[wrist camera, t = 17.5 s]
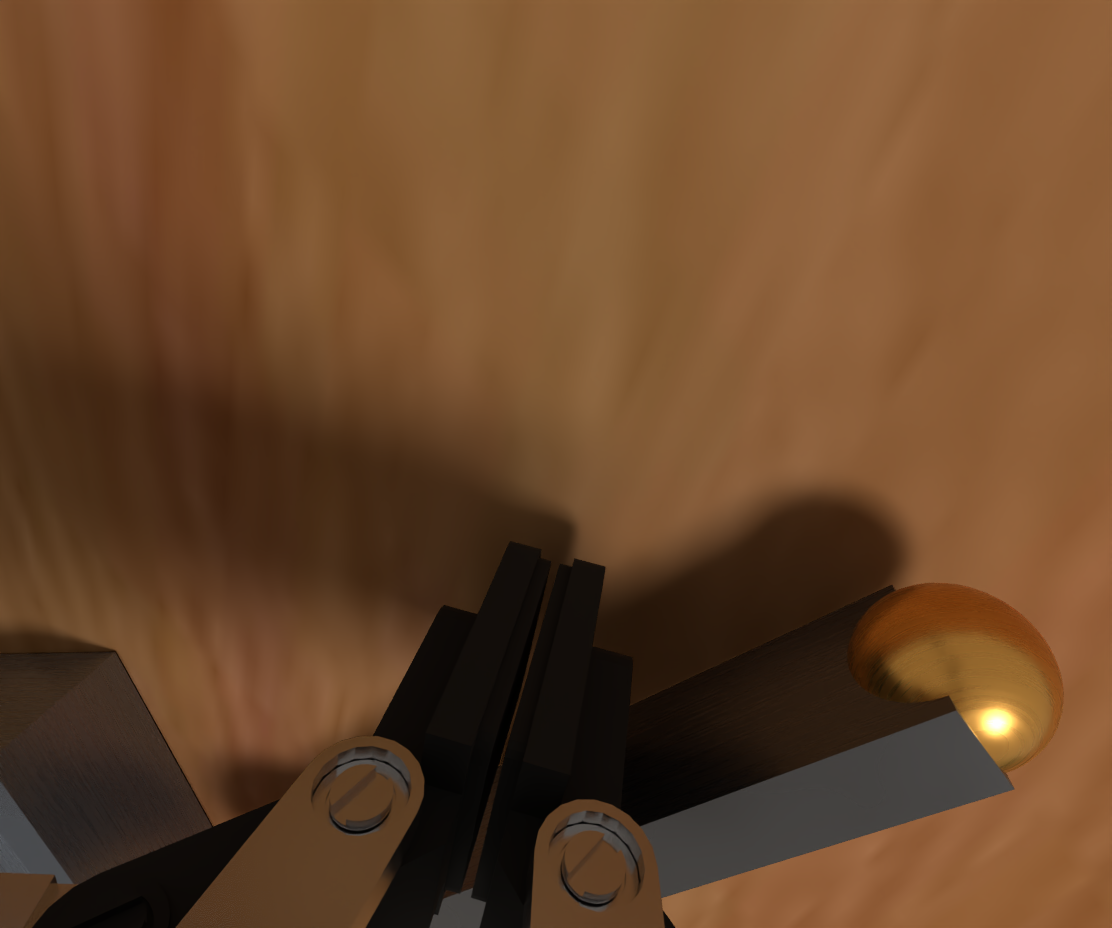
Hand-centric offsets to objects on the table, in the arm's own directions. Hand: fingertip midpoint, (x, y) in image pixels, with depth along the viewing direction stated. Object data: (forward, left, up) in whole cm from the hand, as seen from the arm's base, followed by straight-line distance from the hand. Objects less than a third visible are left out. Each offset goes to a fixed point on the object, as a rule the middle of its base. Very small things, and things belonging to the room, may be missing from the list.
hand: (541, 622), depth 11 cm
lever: (+3, 0, -1) cm, 3 cm away
